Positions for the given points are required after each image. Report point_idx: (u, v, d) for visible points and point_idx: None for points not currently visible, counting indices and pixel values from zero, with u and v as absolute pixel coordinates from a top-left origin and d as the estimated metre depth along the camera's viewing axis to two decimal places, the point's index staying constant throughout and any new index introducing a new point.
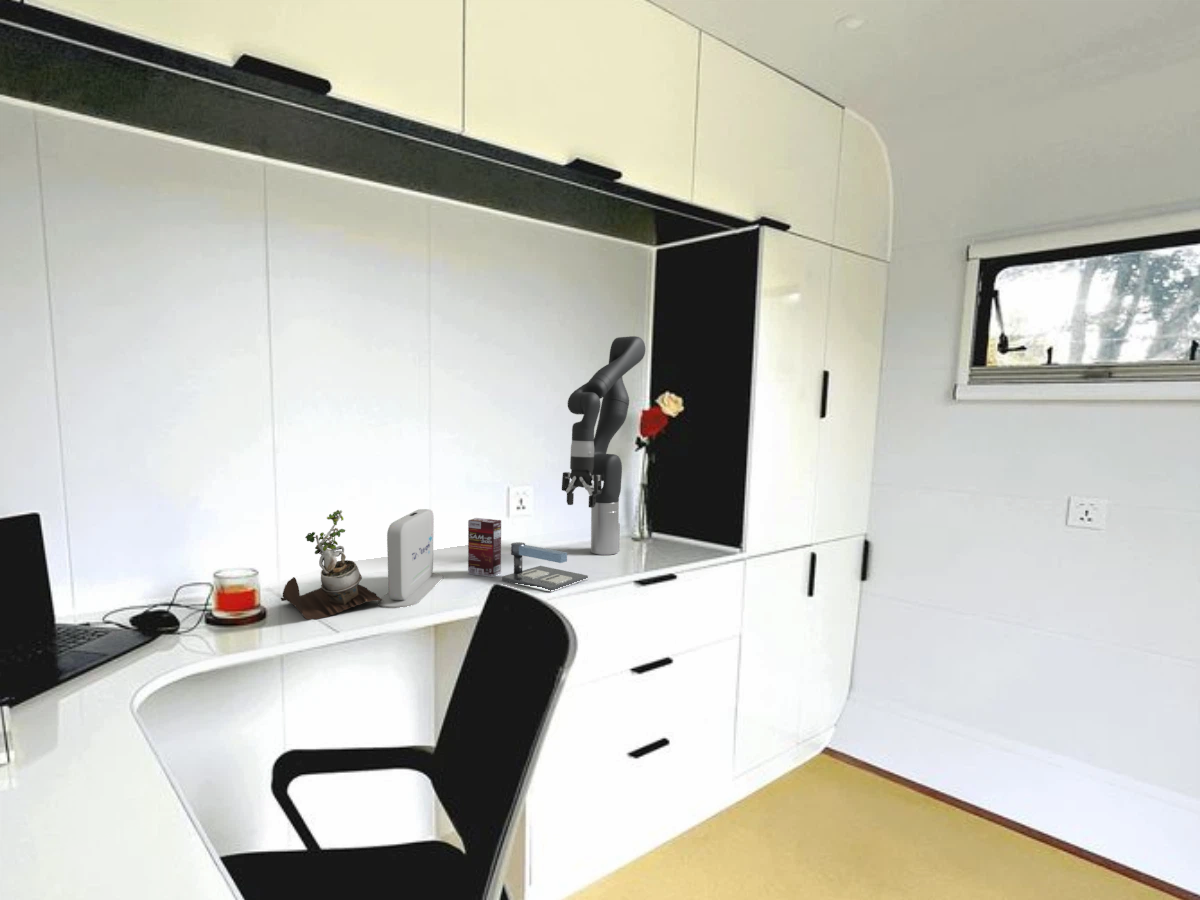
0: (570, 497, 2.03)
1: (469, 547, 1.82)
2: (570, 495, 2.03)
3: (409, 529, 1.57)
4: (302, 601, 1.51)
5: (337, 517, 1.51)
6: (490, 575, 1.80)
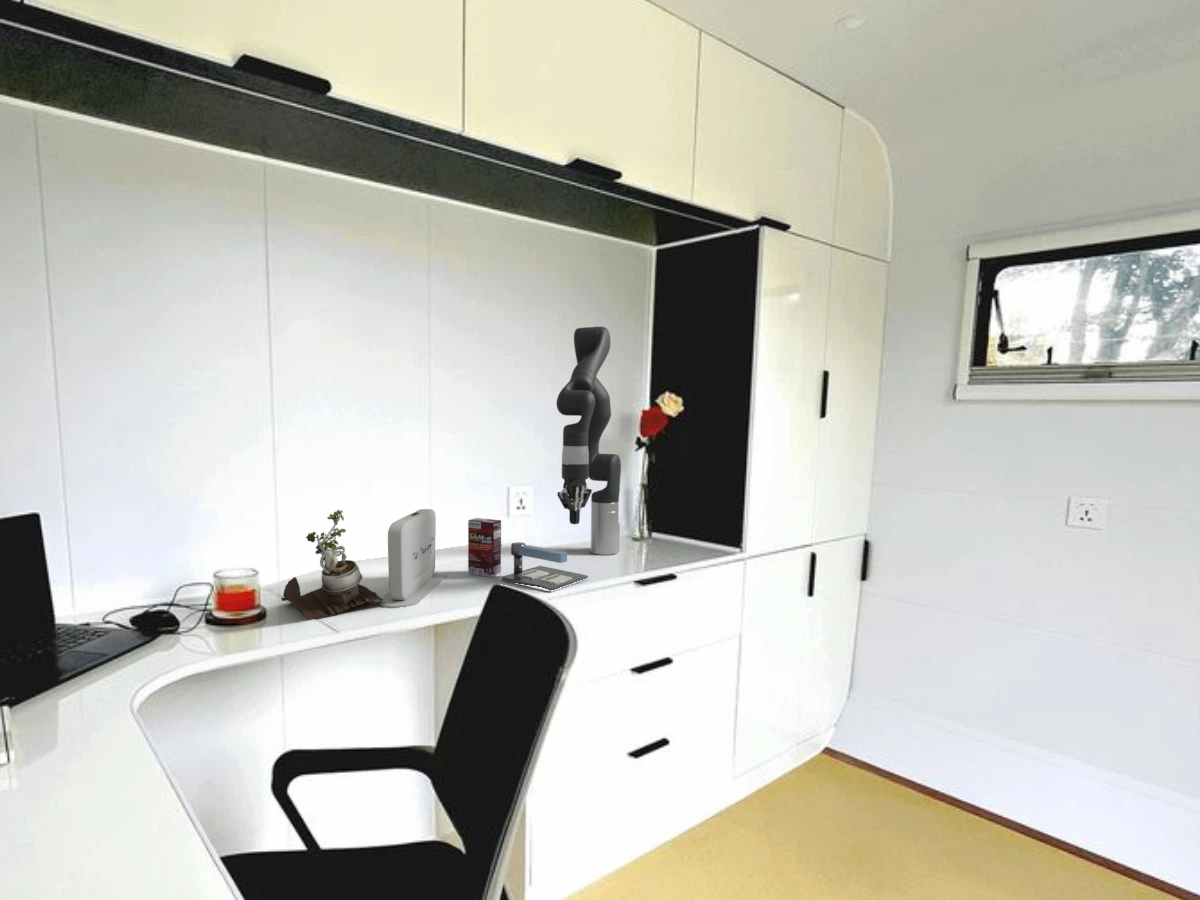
0: None
1: (469, 547, 1.82)
2: None
3: (410, 529, 1.57)
4: (303, 601, 1.51)
5: (338, 517, 1.51)
6: (490, 575, 1.80)
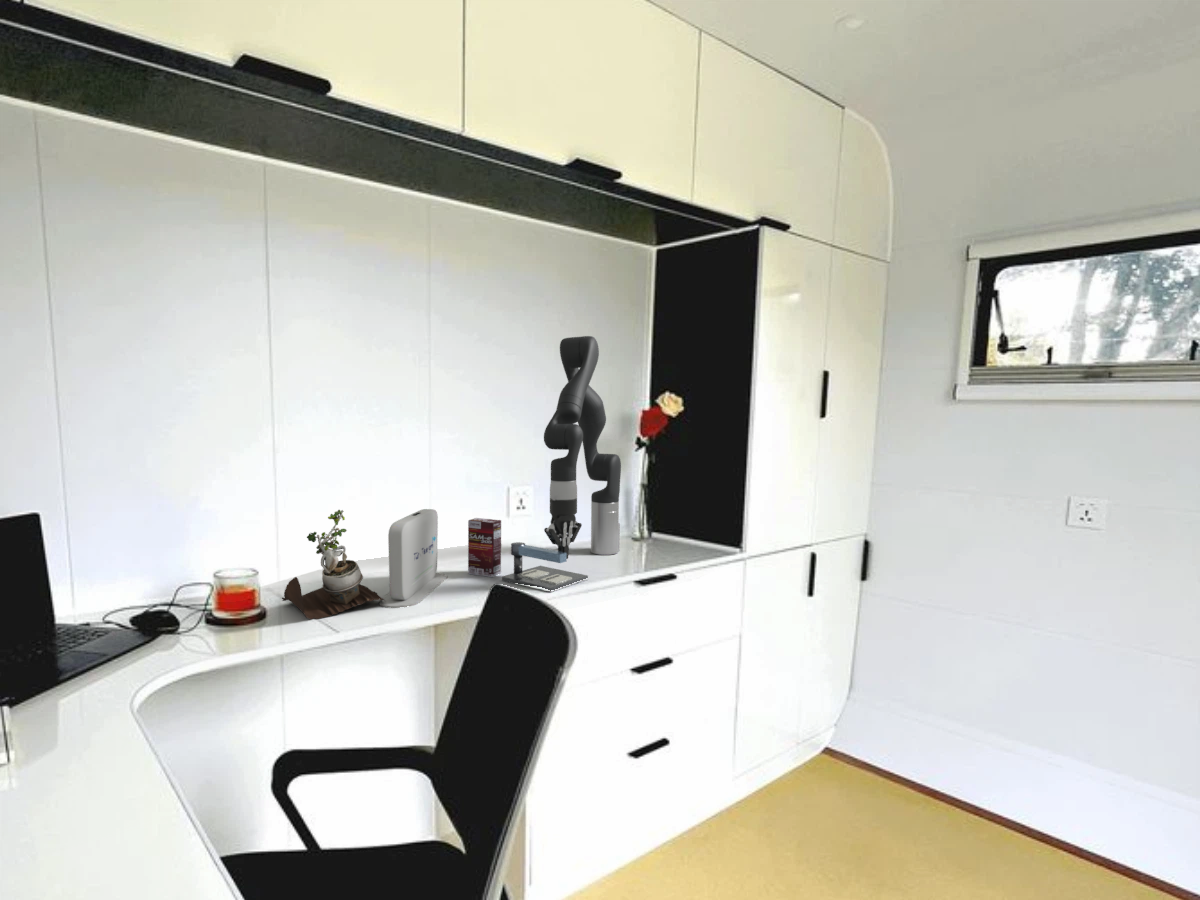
0: None
1: (469, 547, 1.82)
2: None
3: (411, 529, 1.57)
4: (303, 601, 1.51)
5: (338, 517, 1.51)
6: (490, 575, 1.80)
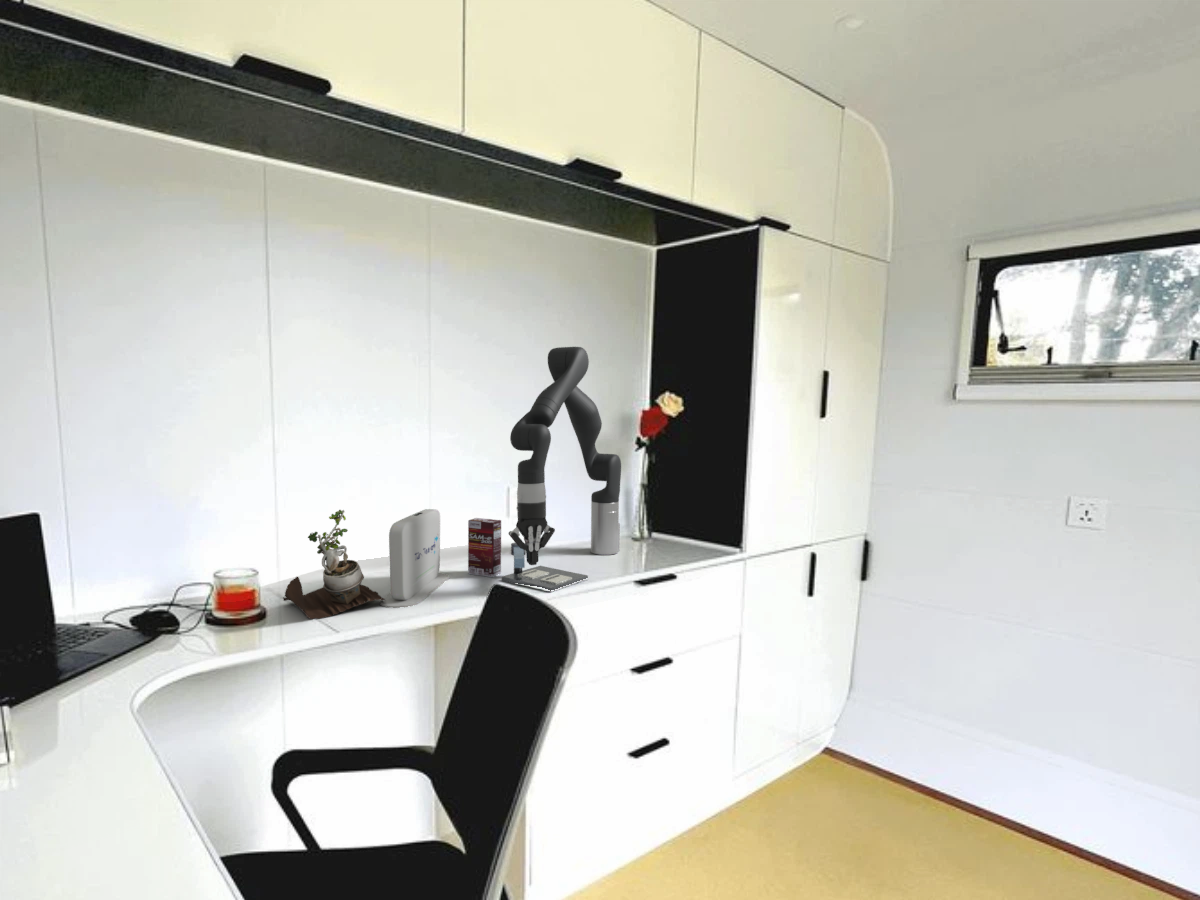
0: None
1: (469, 547, 1.82)
2: None
3: (411, 529, 1.57)
4: (304, 601, 1.51)
5: (339, 517, 1.51)
6: (490, 575, 1.80)
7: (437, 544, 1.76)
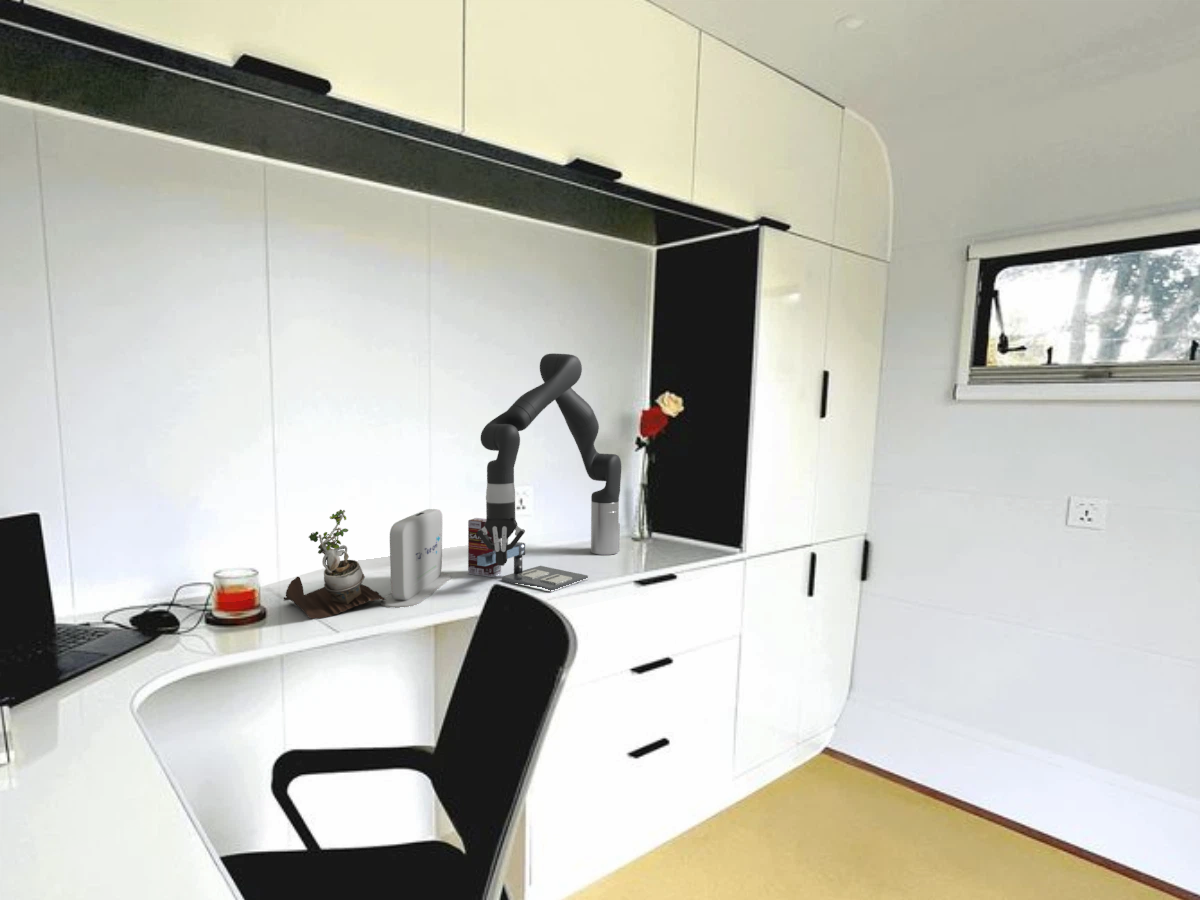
0: None
1: (469, 547, 1.82)
2: None
3: (412, 529, 1.57)
4: (305, 601, 1.51)
5: (340, 517, 1.51)
6: (490, 575, 1.80)
7: (439, 544, 1.76)
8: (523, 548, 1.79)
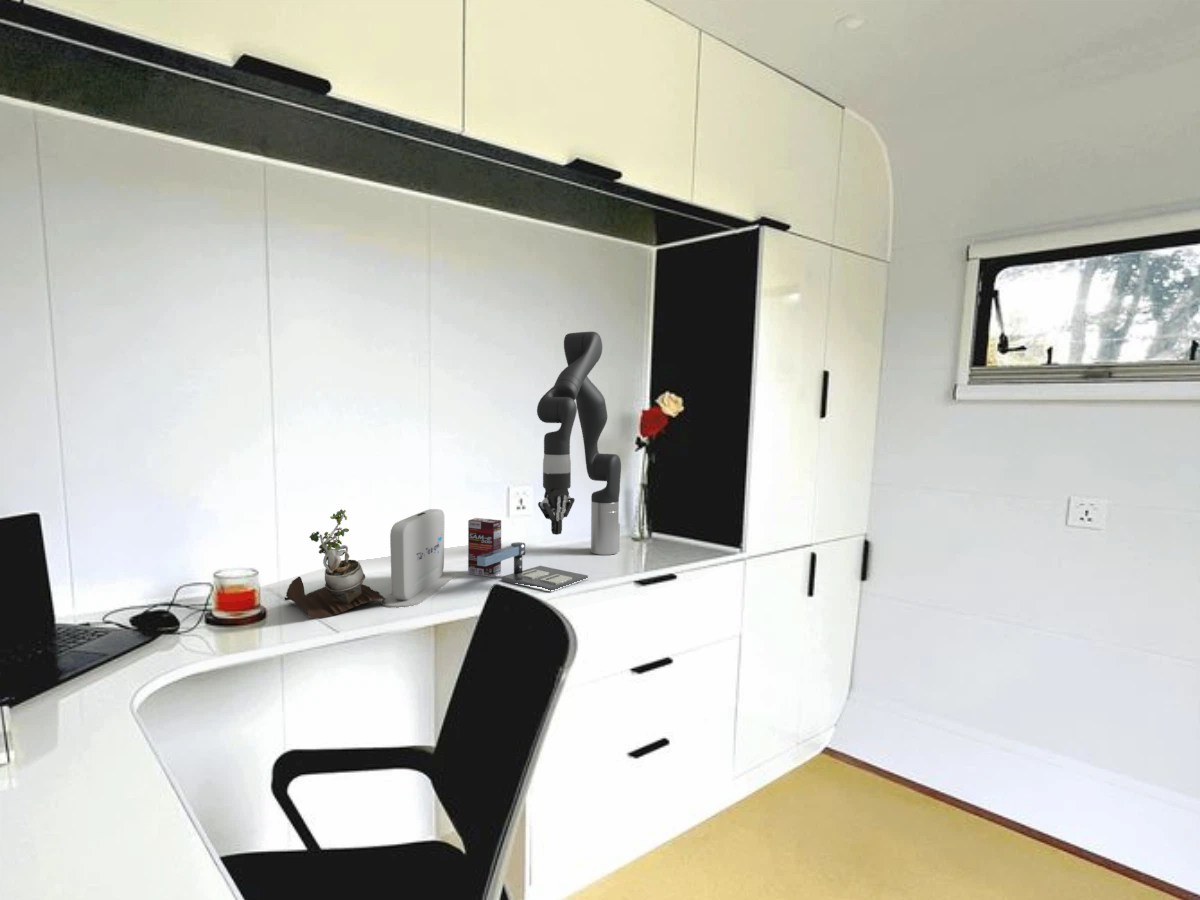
0: None
1: (469, 547, 1.82)
2: None
3: (413, 529, 1.57)
4: (306, 600, 1.52)
5: (341, 517, 1.51)
6: (490, 575, 1.80)
7: (441, 544, 1.76)
8: (523, 548, 1.79)
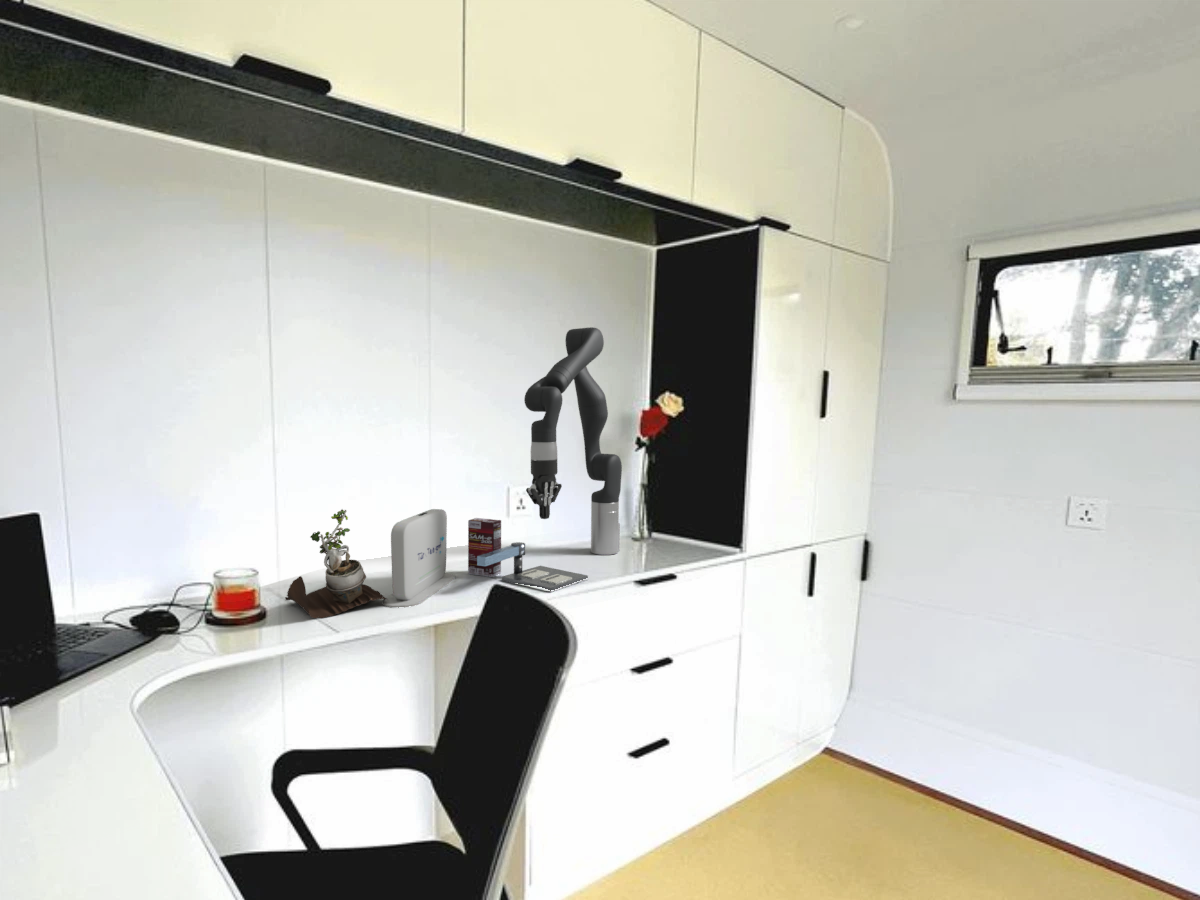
0: None
1: (469, 547, 1.82)
2: None
3: (414, 529, 1.57)
4: (306, 600, 1.52)
5: (341, 516, 1.52)
6: (490, 575, 1.80)
7: (443, 544, 1.76)
8: (523, 548, 1.79)
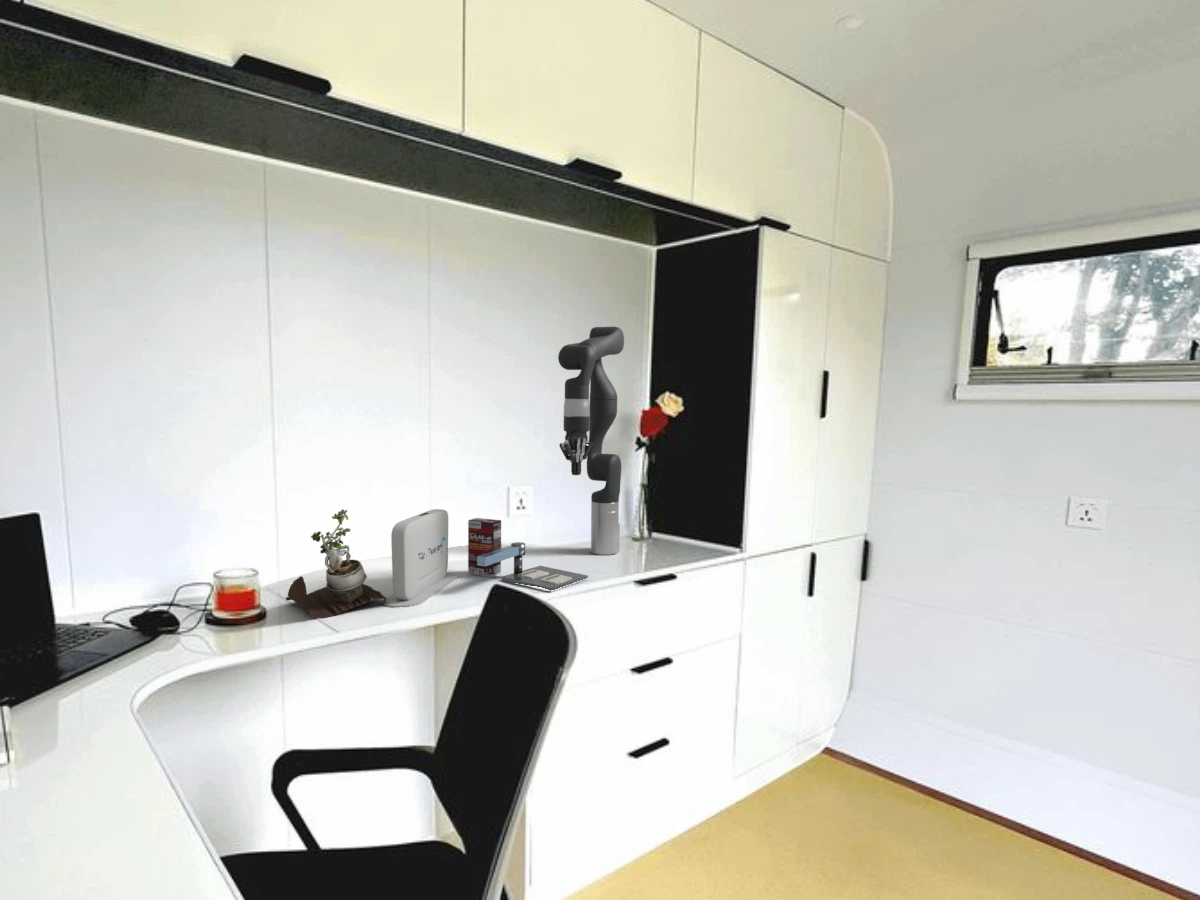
0: None
1: (469, 547, 1.82)
2: None
3: (415, 529, 1.57)
4: None
5: (342, 516, 1.52)
6: (490, 575, 1.80)
7: (444, 544, 1.76)
8: (523, 548, 1.79)
